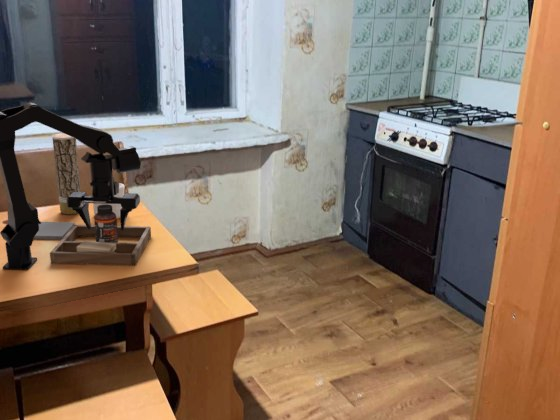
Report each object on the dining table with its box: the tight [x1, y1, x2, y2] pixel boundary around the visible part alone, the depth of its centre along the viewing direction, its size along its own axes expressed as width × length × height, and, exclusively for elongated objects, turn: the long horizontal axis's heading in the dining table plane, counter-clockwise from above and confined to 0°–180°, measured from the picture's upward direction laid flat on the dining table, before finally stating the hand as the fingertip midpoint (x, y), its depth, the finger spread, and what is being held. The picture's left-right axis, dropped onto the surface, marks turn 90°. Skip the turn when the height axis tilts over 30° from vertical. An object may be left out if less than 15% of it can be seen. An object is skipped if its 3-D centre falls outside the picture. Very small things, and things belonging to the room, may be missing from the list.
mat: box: [33, 221, 76, 241], centre depth 174 cm, size 11×11×1 cm
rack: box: [49, 224, 152, 267], centre depth 164 cm, size 20×22×3 cm
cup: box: [92, 182, 126, 219], centre depth 188 cm, size 10×10×10 cm
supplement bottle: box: [93, 204, 119, 242], centre depth 165 cm, size 6×6×11 cm
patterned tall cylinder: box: [52, 132, 82, 215], centre depth 187 cm, size 7×7×25 cm
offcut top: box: [77, 240, 116, 253], centre depth 157 cm, size 4×9×2 cm, turn 81°
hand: (106, 229), depth 166 cm, fingers open, 9 cm apart
